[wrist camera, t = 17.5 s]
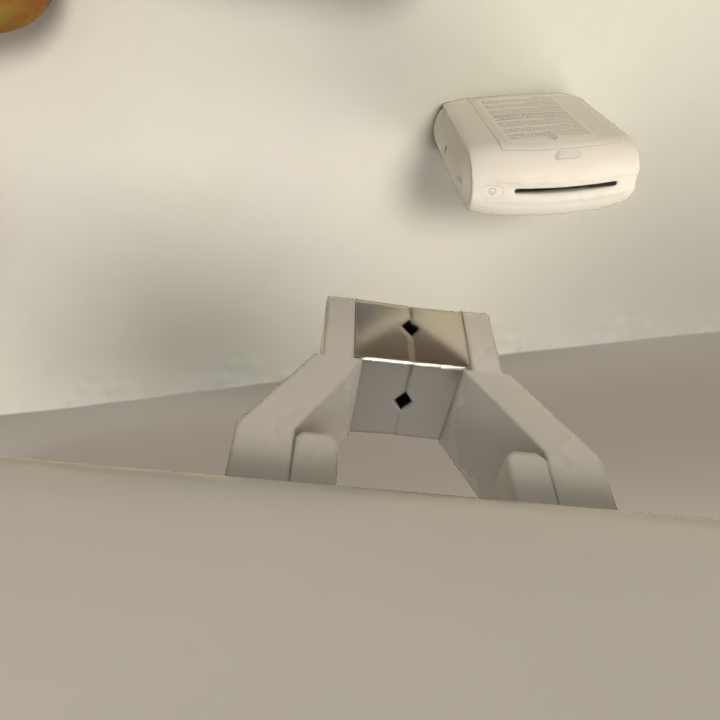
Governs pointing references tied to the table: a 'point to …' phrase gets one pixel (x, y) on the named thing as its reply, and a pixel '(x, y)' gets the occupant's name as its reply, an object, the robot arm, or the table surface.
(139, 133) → the table surface
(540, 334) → the table surface
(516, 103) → the photo printer
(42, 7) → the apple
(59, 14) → the table surface
